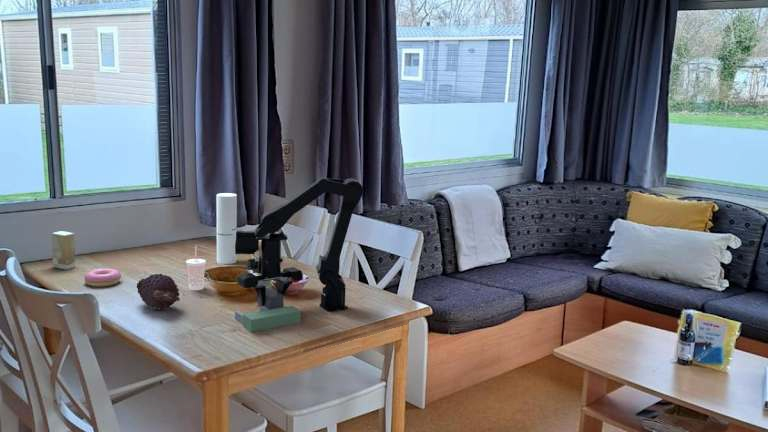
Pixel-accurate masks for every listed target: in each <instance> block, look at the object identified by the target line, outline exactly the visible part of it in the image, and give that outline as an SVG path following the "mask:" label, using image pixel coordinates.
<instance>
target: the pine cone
mask: <svg viewBox="0 0 768 432" xmlns="http://www.w3.org/2000/svg"><path fill="white" fill-rule="evenodd" d="M136 288H137V294H139V297H140V298H141V301H142V302H144V304H145V306H147V307H149V308H150V309H156V310H159V309H161V310H167V309H169V308H170V307H171V306H173V305H174V304H175V303H176V302H178V301H180V300H181V298H180V293H179V290H180V289H179V288H178V285H177V284H176V283H175V280H173V278H172V277H171V276H170V275H167V274H162V273H155V274H150V275H149V276H148V277H146V278H141V280H139V281H138V282H137V283H136Z"/></svg>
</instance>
